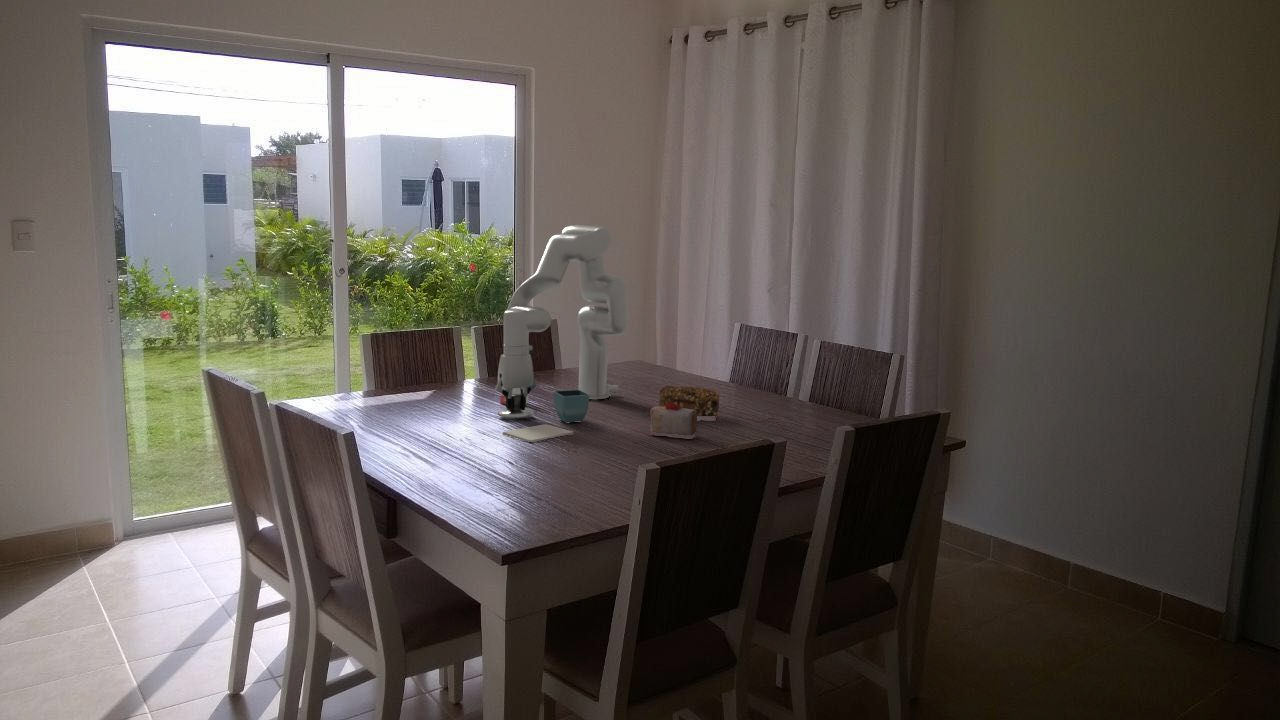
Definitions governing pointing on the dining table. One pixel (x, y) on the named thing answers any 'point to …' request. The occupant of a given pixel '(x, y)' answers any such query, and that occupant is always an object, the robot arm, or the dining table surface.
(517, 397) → the lid
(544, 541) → the dining table surface
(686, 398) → the bread
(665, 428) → the food item
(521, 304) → the robot arm
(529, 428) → the linen napkin
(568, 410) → the flower pot
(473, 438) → the dining table surface
